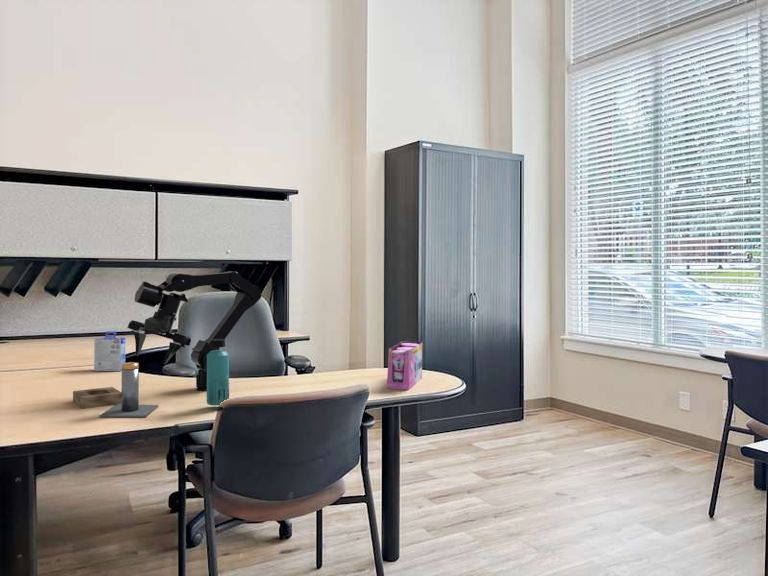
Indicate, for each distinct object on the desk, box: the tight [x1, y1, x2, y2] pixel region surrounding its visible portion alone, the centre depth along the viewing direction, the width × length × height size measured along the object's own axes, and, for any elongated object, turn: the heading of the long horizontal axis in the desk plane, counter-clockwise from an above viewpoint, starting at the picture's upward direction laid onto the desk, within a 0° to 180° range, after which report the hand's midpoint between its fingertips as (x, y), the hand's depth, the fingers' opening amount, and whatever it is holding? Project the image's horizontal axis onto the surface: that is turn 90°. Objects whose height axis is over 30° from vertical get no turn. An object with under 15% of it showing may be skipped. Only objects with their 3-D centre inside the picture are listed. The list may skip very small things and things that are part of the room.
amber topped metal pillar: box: [121, 361, 140, 412], centre depth 172 cm, size 4×4×13 cm
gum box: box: [386, 340, 424, 391], centre depth 219 cm, size 24×8×14 cm, turn 165°
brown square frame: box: [72, 386, 122, 409], centre depth 183 cm, size 11×11×3 cm
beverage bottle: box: [205, 339, 231, 406], centre depth 178 cm, size 6×7×20 cm
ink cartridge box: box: [93, 330, 126, 372], centre depth 233 cm, size 10×6×14 cm, turn 96°
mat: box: [99, 404, 159, 419], centre depth 172 cm, size 12×12×1 cm
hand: (150, 359), depth 192 cm, fingers open, 9 cm apart
